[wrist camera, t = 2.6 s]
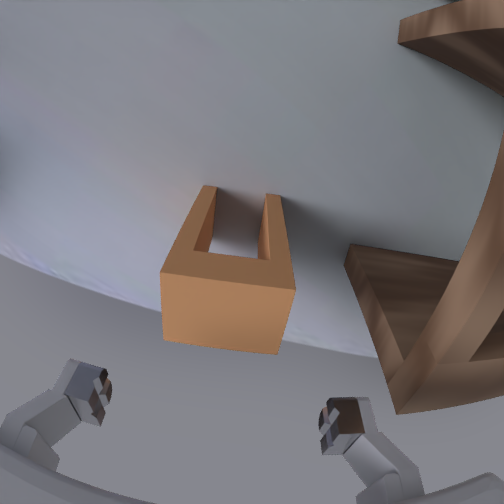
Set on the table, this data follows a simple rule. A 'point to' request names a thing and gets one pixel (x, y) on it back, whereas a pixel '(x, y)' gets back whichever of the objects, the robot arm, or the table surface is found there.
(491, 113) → the table surface
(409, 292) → the wooden slider frame
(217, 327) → the orange forked block
